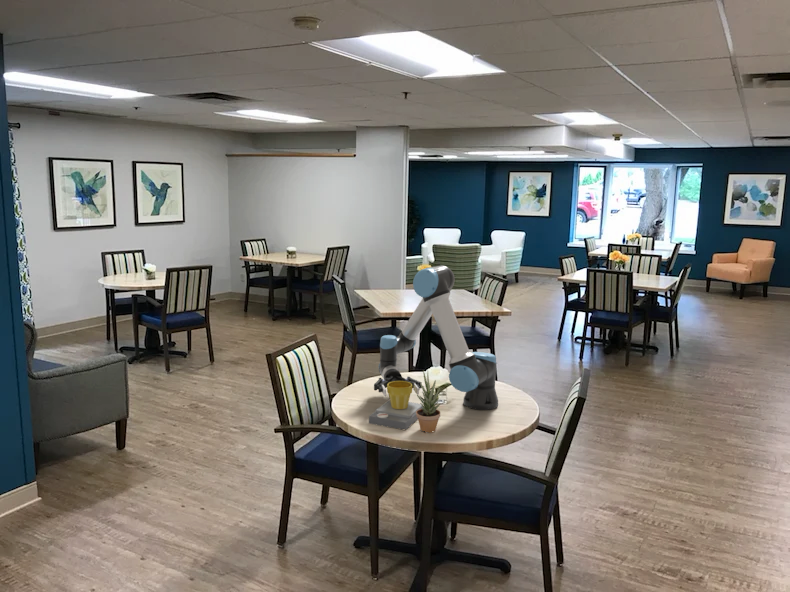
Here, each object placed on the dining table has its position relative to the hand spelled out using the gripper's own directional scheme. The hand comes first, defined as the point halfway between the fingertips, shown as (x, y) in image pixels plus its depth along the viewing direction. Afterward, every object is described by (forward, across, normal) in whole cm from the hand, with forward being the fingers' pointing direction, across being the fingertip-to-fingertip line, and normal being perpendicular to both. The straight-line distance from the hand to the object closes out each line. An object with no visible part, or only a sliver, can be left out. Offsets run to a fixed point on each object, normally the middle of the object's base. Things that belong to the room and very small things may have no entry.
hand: (401, 392), depth 257 cm
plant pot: (-4, 0, -8) cm, 8 cm away
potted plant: (+13, -8, -12) cm, 19 cm away
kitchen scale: (-2, +1, -12) cm, 12 cm away
